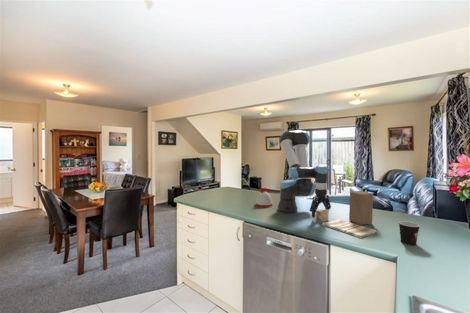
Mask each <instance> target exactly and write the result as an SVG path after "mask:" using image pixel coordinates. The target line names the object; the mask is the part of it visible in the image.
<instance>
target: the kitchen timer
mask: <svg viewBox="0 0 470 313" xmlns="http://www.w3.org/2000/svg"><path fill="white" fill-rule="evenodd" d="M259 191H260V193H259V194H258V195H257V198H256V200H255V206H257V207H260V208H270V207H271V208H272V206H273V199H272V197H271V195H270V193H268V192H269V189H268V188H266V187H261V188H260V189H259Z"/></svg>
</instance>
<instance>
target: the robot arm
mask: <svg viewBox="0 0 470 313" xmlns="http://www.w3.org/2000/svg"><path fill="white" fill-rule="evenodd" d="M309 144H310V135H309V133H308V132H307V131H306V130H286V131H284V132H283V133H282V134H281V135H280V137H279V146H280V148H282V150H283V152H284V155H285V158H286V160H287V163H288V166H289V168H288V171H287V172H288V173H287V175H288V177H289V178H290V179H284V180H282V181H281V182H280V184H279V185H280V186H279V189H280V190H279V192H280V193H279V202H278V205H277V210H278V211H279V212H283V213H296V212H298V206H297V202H296V197H299V198H300V197H306V198H307V197H312V201H311V205H310V208H309V212H311V222H313V223H314V224H315V223H317V221H316V210H317V209H319V206H320V204H322V205H323V207H324V209H323V210H325V211H328V215H329V212H330V210H331V208H332V205H331V201H330V197H329V194H328V189H327V188H328V172H329V170H328V167H327V166H326V165H316V166H310V167H309V166H308V155H307V147H308V145H309ZM312 179H315V181H312ZM314 194H315V195H316V196H314Z"/></svg>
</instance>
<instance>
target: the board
mask: <svg viewBox="0 0 470 313" xmlns="http://www.w3.org/2000/svg"><path fill="white" fill-rule="evenodd" d="M321 223H322V222H321ZM321 225H322V226H323V225H324V226H323V227H326V226H327V228H329V227H330V228H329V229H332V228H333V230H335V229H336V231H338V230H339V232H341V231H342V232H341V233H344V234H347V233H348V235H350V234H351V235H350V236H353V235H354V237H356V236H357V237H356V238H359V237H360V239H363V238H365V237H368V236H371V235H373V234H376V233H377V230H376V229H373V228H369V227H367V226H363V225H359V224H357V223H354V222H349V221H346V220H343V219H338V218H335V219H331V220H328V222H324V223H322V224H321Z"/></svg>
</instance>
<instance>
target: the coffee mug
mask: <svg viewBox="0 0 470 313" xmlns="http://www.w3.org/2000/svg"><path fill="white" fill-rule="evenodd" d="M398 227H399V235H400V237H399V238H400V242H401V243H402V244H403V243H404V245H406V244H407V246H413V247H414V246H416V245H417V243H418V242H417V240H418V236H419V232H420V231H419V230H420V225H419V223H415V222H412V221H404V220H403V221H399V222H398Z"/></svg>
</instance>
